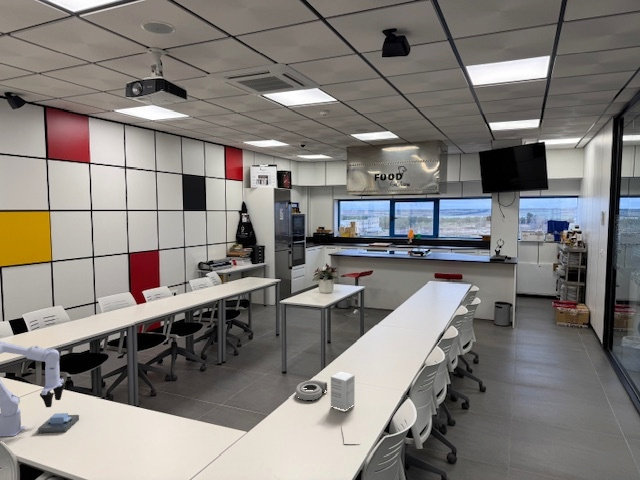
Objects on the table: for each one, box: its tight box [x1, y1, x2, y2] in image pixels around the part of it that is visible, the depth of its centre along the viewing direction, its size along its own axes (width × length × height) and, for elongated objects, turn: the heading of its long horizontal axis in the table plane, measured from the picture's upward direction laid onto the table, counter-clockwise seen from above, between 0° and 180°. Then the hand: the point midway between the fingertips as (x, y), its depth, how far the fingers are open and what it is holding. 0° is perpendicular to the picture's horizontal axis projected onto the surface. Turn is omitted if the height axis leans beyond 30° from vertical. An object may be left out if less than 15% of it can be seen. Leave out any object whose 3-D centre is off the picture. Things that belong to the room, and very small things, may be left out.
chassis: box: [37, 414, 80, 434], centre depth 196 cm, size 12×12×2 cm
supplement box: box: [330, 371, 355, 410], centre depth 216 cm, size 10×9×17 cm
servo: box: [46, 412, 71, 424], centre depth 196 cm, size 9×4×5 cm, turn 94°
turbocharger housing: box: [295, 379, 328, 401], centre depth 231 cm, size 17×6×15 cm
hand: (53, 403), depth 199 cm, fingers open, 7 cm apart
